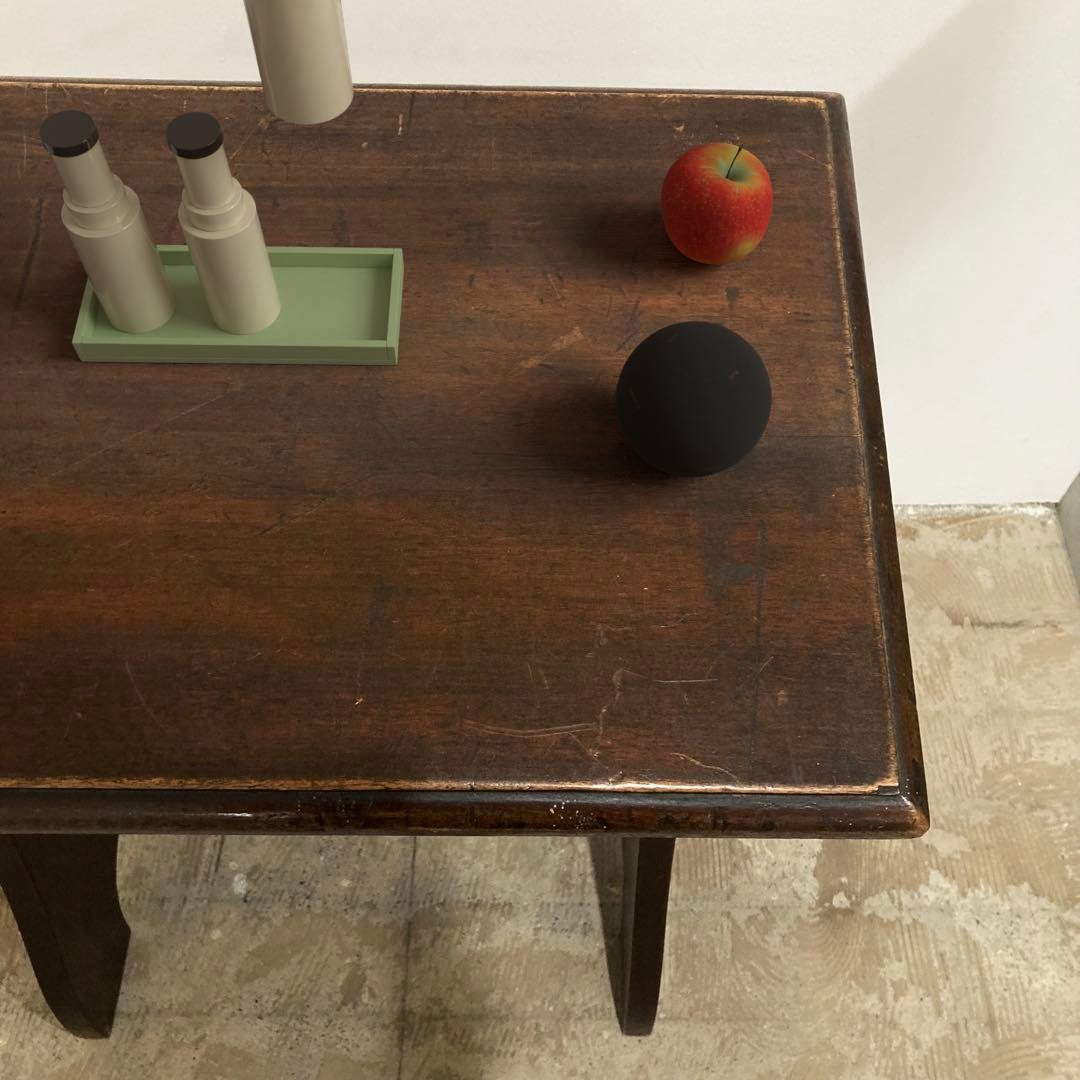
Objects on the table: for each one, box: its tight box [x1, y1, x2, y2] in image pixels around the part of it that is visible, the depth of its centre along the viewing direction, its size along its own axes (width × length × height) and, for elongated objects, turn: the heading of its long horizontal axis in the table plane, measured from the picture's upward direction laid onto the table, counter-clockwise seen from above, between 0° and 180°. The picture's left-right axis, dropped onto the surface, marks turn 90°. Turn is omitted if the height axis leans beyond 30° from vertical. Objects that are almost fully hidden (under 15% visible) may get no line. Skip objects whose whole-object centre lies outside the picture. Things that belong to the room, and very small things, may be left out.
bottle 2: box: [164, 111, 281, 335], centre depth 76 cm, size 5×5×16 cm
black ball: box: [615, 320, 773, 478], centre depth 74 cm, size 10×10×10 cm
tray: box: [71, 244, 405, 366], centre depth 82 cm, size 22×9×2 cm, turn 90°
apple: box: [660, 142, 774, 266], centre depth 83 cm, size 8×8×10 cm
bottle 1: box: [38, 109, 176, 333], centre depth 76 cm, size 5×5×16 cm
